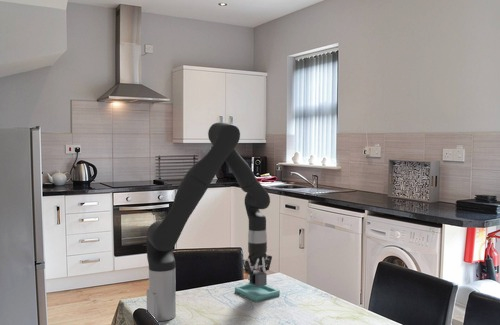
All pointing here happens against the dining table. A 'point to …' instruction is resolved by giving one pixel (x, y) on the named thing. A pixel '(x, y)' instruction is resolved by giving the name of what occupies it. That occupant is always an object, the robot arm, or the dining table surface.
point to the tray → (257, 292)
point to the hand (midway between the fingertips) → (257, 282)
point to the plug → (259, 278)
